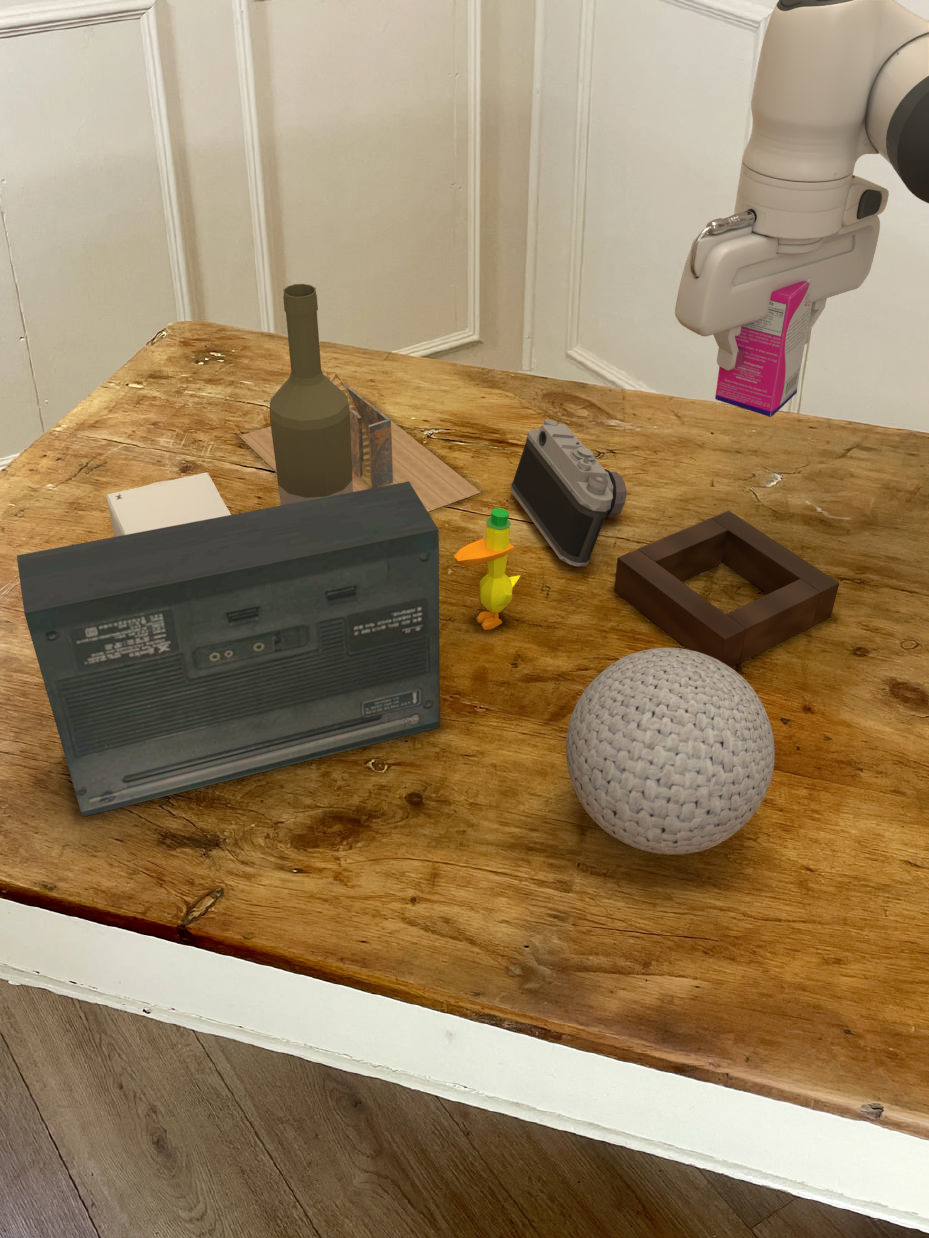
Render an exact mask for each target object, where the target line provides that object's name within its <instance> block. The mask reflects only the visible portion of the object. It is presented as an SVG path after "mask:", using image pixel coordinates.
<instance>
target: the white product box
mask: <svg viewBox="0 0 929 1238" xmlns="http://www.w3.org/2000/svg"><path fill="white" fill-rule="evenodd" d="M105 498H106V502H107V507H108V508H107V509H108V513H109V518H110V522H111V527H112V532H113V537H117V536H122V535H128V534H133V533H138V532H143V531H149V530H154V529H159V528H165V527H170V526H175V525H180V524H186V523H191V522H196V521H202V520H207V519H212V518H218V517H223V516H228V515H232V514H231V511H230V510H229V508H228V507H227V505H226V503H225V501H224V499H223V497H222V496H221V494H220V492H219V491H218V489H217V487H216V485H215V483H214V480H213V479H212V477H211V475H210V473H209V472H202V473H197V474H193V475H188V476H183V477H179V478H175V479H169V480H161V481H156V482H153V483H152V482H151V483H149V484H146V485H143V486H138V487H133V488H129V489H124V490H120V491H115V492H110V493H107V494H105Z"/></svg>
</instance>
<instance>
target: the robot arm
mask: <svg viewBox="0 0 929 1238" xmlns="http://www.w3.org/2000/svg"><path fill="white" fill-rule="evenodd" d="M750 104H751V105H750V109H751V116H752V127H751V133H750V137H749V138H748V142H747V143H746V146H745V148H744V150H743V154H742V160H741V166H740V173H739V179H738V186H737V191H736V196H735V204H734V212H733V214H732V215H729V216H727V217H725V218H722V217H719V218H714V219H712V220H710V221H709V222H707V224H706V226H705V228H703V229H702V230H701V231H700V232H699V234H698V235H697V236H695V238H693V240H692V243H691V247H690V250H689V252H688V254H687V257H686V259H685V262H684V267H683V271H682V274H681V278H680V283H679V287H678V290H677V296H676V301H675V307H674V315H675V318H676V319H677V321H678V323H679V324H680V325H681V326H682V327H684V328H685V329H687V330H688V331H691V332H693V333H695V334H696V335H699V336H701V337H709V336H713V337H714V340H715V342H716V344H717V347H718V350H717V355H716V363H717V365H718V367H719V366H720V367H722V368H724V369H725V370H731V369H735V368H737V367H740V366H742V365H743V357H744V354H745V349H743V348H741V347H739V346H737V343H736V340H735V336H738V335H739V334H740V332H741V326H742V325H744V324H747V323H751V322H754V321H757V320H760V319H763V318H765V317H766V316H767V313H768V310H769V303H770V297H771V294H772V292H773V291H776V290H778V289H781V288H784V287H787V286H790V285H793V284H795V283H798V282H801V281H804V280H807V279H813V285H812V290H811V296H810V302H811V303H812V307H811V313H810V319H809V324H808V329H807V335H806V341H805V345H808V343H809V340H810V335H811V332H812V331H811V330H812V328H813V327H814V326H815V324H816V323H817V320H818V319H819V318H820V316H821V314H822V313H823V311H824V310H825V308H826V303H827V300H828V298H832V297H836V296H839V295H841V294H844V293H848V292H850V291H854V290H857V289H859V288H860V287H861V286H862V284H863V283H864V282H865V280H866V279H867V278H868V275H869V274H870V271H871V269H872V265H873V262H874V258H875V253H876V250H877V247H878V242H879V241H878V240H879V236H880V229H881V221H880V217H879V215H881V214H882V213H883V212H884V211H885V209H886V208H887V204H888V201H889V196H890V193H889V190H888V189H887V188H885V187H883V186H882V185H879V184H877V183H874V182H872V181H870V180H868V179H865V178H863V177H860V176H857V175H854V170H855V166H856V164H857V161H858V160H859V159H860V158H862V156H864V155H880V156H882V158H883V159H885V160H886V161H887V162H888V163H889V164H890V165H891V166H892V168H893V170H894V171H895V173H896V174H897V176H898V177H899V178H900V180H901V181H902V183H903V185H905V187H906V188H907V190H908V191H909V192H910V193H911V194H912V195H913V196H914V197H916V198H917V199H919V200H920V201H922V202H924V203H926V204H929V20H928V19H926V18H923V17H922V16H920V15H918V14H917V13H915V12H913V11H911V10H910V9H908V8H906V7H905V6H903V5H902V4H901V3H900V2H898V1H896V0H778V1H777V3H776V4H775V6H774V8H773V10H772V12H771V15H770V17H769V20H768V23H767V26H766V30H765V32H764V37H763V40H762V44H761V49H760V53H759V57H758V62H757V68H756V72H755V77H754V82H753V89H752V93H751V101H750Z"/></svg>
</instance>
